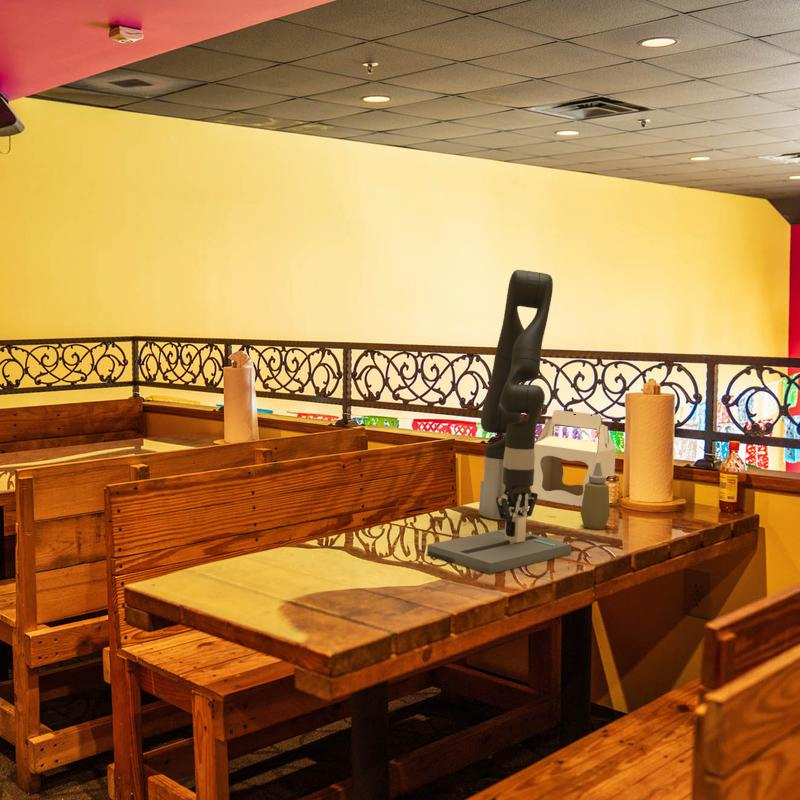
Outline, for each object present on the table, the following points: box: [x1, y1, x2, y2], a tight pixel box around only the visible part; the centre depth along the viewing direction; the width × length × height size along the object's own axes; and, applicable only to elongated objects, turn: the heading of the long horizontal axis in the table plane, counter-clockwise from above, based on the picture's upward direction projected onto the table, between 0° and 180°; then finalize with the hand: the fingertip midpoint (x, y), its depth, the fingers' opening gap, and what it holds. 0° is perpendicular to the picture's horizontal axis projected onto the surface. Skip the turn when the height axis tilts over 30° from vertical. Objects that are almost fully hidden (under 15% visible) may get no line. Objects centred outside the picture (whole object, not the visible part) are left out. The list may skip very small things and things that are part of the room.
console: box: [426, 528, 572, 575], centre depth 236 cm, size 20×30×3 cm, turn 134°
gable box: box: [531, 409, 617, 508], centre depth 304 cm, size 22×13×28 cm, turn 53°
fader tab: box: [504, 514, 527, 544], centre depth 239 cm, size 4×3×7 cm
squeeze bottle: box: [580, 463, 611, 530], centre depth 269 cm, size 8×8×18 cm
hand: (515, 534), depth 239 cm, fingers closed on fader tab, 3 cm apart
